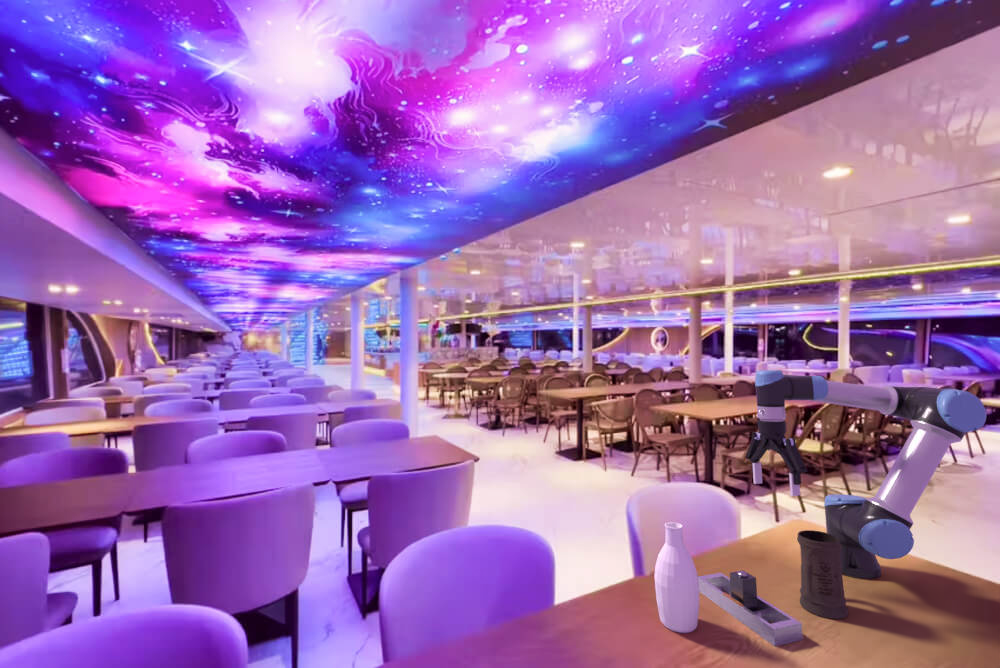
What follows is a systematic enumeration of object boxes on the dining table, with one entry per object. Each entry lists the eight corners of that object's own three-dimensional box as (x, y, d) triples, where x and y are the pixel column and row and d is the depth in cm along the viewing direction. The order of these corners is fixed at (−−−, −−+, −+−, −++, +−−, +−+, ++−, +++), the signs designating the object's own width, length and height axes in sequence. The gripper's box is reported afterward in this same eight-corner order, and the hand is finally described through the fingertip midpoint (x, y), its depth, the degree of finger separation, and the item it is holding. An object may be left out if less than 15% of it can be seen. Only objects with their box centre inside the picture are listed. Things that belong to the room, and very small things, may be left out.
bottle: (680, 641, 111) (675, 536, 112) (647, 618, 120) (642, 522, 122) (711, 627, 116) (705, 527, 117) (676, 607, 126) (671, 515, 127)
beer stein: (858, 622, 116) (850, 542, 119) (812, 619, 118) (805, 539, 121) (828, 596, 131) (821, 525, 134) (787, 593, 133) (781, 523, 136)
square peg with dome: (745, 607, 125) (743, 568, 126) (758, 615, 121) (755, 575, 121) (731, 609, 124) (729, 570, 124) (744, 618, 119) (742, 577, 120)
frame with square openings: (721, 586, 136) (720, 571, 137) (802, 639, 110) (801, 621, 110) (697, 590, 134) (696, 575, 135) (774, 646, 108) (773, 627, 108)
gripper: (731, 415, 150) (735, 479, 149) (797, 425, 126) (802, 502, 125) (749, 414, 152) (753, 477, 151) (818, 424, 128) (823, 499, 127)
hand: (775, 489), depth 138 cm, fingers open, 13 cm apart
